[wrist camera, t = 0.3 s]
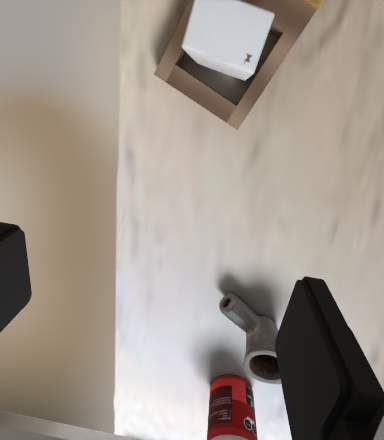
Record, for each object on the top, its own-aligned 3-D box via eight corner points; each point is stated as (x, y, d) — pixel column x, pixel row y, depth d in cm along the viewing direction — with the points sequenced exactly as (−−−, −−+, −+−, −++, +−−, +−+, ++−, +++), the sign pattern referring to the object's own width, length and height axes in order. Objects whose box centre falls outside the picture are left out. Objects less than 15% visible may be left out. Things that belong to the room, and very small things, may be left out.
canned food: (247, 404, 55) (252, 473, 45) (206, 396, 56) (202, 462, 46) (257, 378, 52) (264, 446, 42) (214, 369, 53) (211, 434, 43)
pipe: (239, 282, 44) (242, 319, 37) (291, 331, 47) (303, 375, 40) (210, 302, 46) (207, 341, 39) (261, 348, 49) (268, 392, 42)
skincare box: (260, 40, 31) (278, 12, 20) (245, 81, 33) (254, 77, 22) (207, 20, 31) (197, -18, 20) (195, 63, 33) (179, 49, 22)
